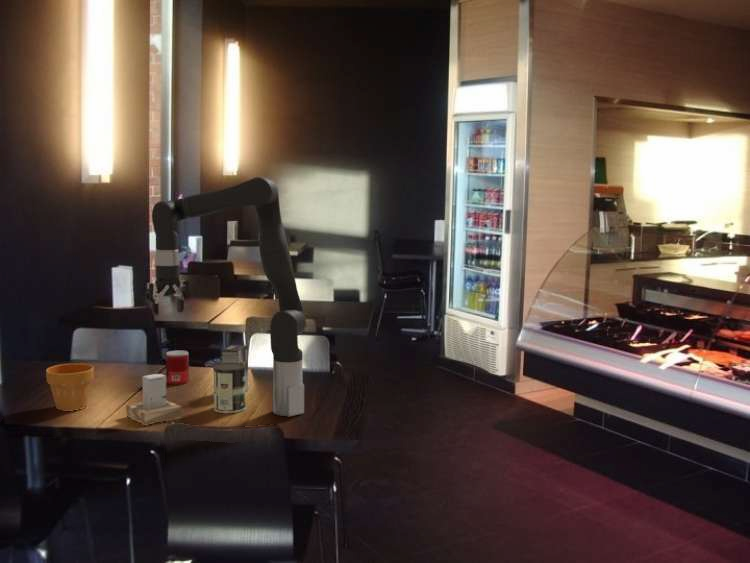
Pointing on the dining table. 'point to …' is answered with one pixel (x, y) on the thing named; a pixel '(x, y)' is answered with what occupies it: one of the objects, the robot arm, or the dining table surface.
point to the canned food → (177, 367)
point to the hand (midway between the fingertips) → (168, 313)
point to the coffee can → (229, 387)
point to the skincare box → (154, 391)
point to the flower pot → (70, 384)
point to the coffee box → (237, 357)
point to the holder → (154, 413)
